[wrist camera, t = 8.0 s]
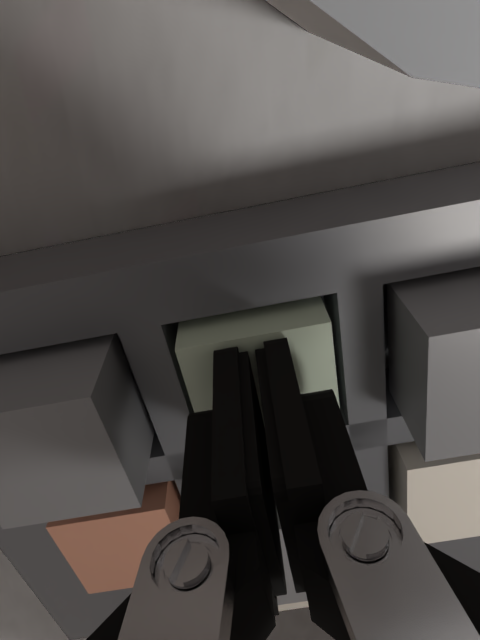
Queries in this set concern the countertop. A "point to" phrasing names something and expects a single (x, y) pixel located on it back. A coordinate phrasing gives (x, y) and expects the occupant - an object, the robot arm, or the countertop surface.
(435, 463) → the key cream
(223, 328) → the key sage
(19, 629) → the countertop surface
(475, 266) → the keypad
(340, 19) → the white oval cup
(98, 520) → the key terracotta
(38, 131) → the countertop surface
